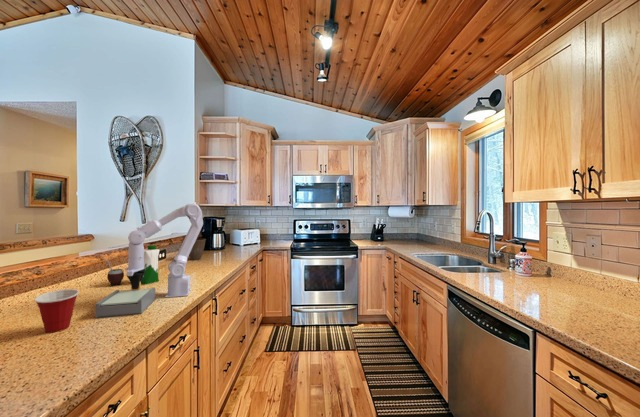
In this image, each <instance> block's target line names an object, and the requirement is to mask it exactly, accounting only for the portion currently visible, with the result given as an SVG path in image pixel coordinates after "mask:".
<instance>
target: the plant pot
mask: <svg viewBox="0 0 640 417" xmlns="http://www.w3.org/2000/svg"><path fill="white" fill-rule="evenodd" d="M206 240H207V239H206V238H197V239H196V241H195V243H194V245H193V247H192V249H191V252H190V254H189V256H188V258H189V260H190V261H199V260H201V259H202V256H203V253H204V251H205V250H204V249H205V245H206Z"/></svg>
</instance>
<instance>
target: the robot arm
mask: <svg viewBox="0 0 640 417" xmlns="http://www.w3.org/2000/svg"><path fill="white" fill-rule="evenodd" d="M182 217H187V218H188V219H189V222H190V223H191V225H190V226H189V228H188V231H187V233H186V235H185V237H184V239H183V242H182V243H181V246H180V247H179V250H178V251H177V254H176V255H175V256H174V258H173V260H172V261H171V262H170V263H169V264H168V267H167V270H168V271H169V273H168V275H167V293H166V295H165V296H164V298H174V297H175V298H177V297H187V296H188V295H189V294H190V292H191V275H189V274H187V275H186V273H185V272H186V265H187V262H188V258H189V254H190V252H191V249H192V247H193V245H194V243H195V241H196V239H198V236H199V234H200V232H201V230H202V227H203V225H204V220H203V211H202V209H201V207H200V206H199V205H198V204H196V203H187V204H185V205H183V206H181V207H179V208H176V209H174V210H173V211H171V212H169V213H168V214H167V215H165V216H163V217H162V218H160V219H158V220H156V219H152V220H148V221H146V222H147V223H145V224H144V225H142V226H140V227H139V226H138V227H136V229H135V230H133V231H131V232H130V233H129V235H128V242H129V243H128V255H127V256H128V261H127V262H128V263H127V266H128V267H126V268H124V271H126V278H127V279H128V280H129V283H130V286H131V287H132V289H138V288H139V283H140V282H141V281H142V278H143V275H144V273H145V270H143V269H144V268H145V264H144V249H145V246H144V241H145V240H146V239H149V238H150V237H152V236H153V235H156V234H157V233H159V232H161V231H162V229H163V228H162V227H164V226H165V225H167V224H169V223H170V222H172V221H174V220H176V219H179V218H182ZM141 270H143V271H141ZM131 287H130V288H131Z"/></svg>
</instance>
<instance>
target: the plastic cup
mask: <svg viewBox="0 0 640 417" xmlns="http://www.w3.org/2000/svg"><path fill="white" fill-rule="evenodd" d="M79 294H80V290H78V289H77V288H76V289H75V288H68V289H67V288H66V289H59V290H54V291H53V290H52V291H48V292H45V293H42V294H39V295H37V296H36V297H35V298H34V302H36V305H37V306H38V309H39V312H40V317H41V322H42V323H43V327H44V331H45V332H46V333H49V334H50V333H57V332H62V331H65V330H66V329H68V328H69V327H70V325H71V320H72V317H73V312H74V307H75V305H76V300H77V297H78V295H79Z"/></svg>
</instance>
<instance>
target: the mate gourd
mask: <svg viewBox="0 0 640 417" xmlns="http://www.w3.org/2000/svg"><path fill="white" fill-rule="evenodd" d="M101 259H102V260H103V261H105V262H106V263H107V265H108V266H109V269H110V270H109V271H108V273H107V277H106V278H107V281H108V283H109V285H110V286H109V287H110V288H112V287H115V286H122V281H123V280H124V277H125V274H124V272H125V271H124V270H123V269H122V268H115V269H113V267H112V265H111V264H110V261H109V260H108V259H105V258H101Z"/></svg>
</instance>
